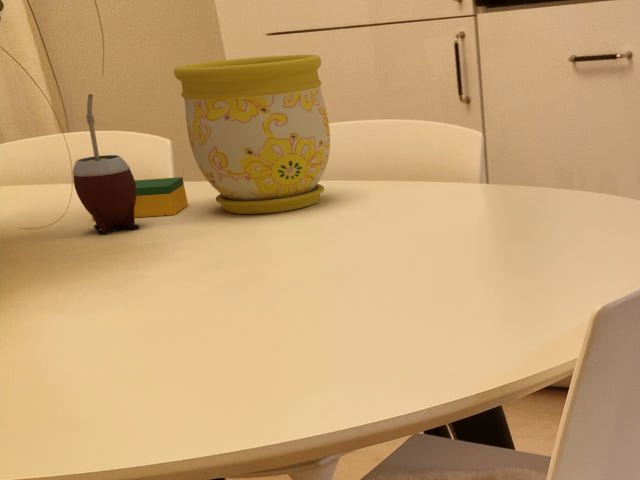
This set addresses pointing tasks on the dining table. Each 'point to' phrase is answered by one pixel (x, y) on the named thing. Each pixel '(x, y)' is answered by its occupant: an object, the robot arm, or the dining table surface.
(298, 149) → the flowerpot
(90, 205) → the mate gourd
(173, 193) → the sponge
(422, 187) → the dining table surface
